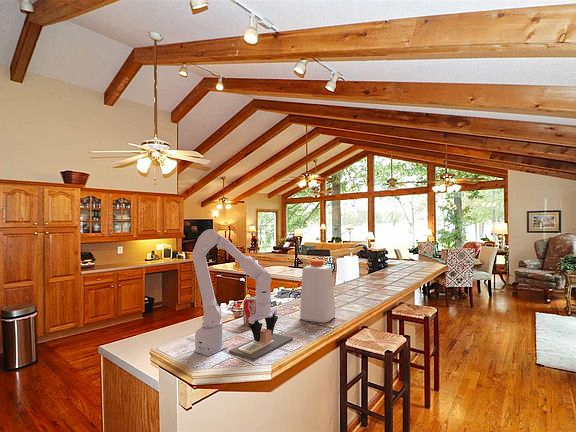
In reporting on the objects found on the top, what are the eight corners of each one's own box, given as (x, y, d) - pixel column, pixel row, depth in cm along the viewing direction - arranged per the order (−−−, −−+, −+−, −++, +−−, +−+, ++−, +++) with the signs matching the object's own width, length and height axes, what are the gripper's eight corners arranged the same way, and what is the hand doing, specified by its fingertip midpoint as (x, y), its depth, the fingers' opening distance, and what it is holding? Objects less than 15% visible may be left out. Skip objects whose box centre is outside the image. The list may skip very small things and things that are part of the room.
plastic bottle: (297, 320, 151) (296, 261, 152) (309, 312, 164) (309, 258, 165) (326, 324, 144) (325, 262, 145) (337, 316, 157) (336, 259, 158)
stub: (265, 346, 117) (265, 333, 117) (253, 342, 120) (253, 330, 120) (273, 342, 121) (273, 329, 121) (261, 338, 124) (261, 327, 125)
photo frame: (250, 353, 110) (250, 351, 110) (237, 350, 114) (237, 348, 114) (264, 346, 117) (264, 344, 117) (252, 343, 120) (252, 341, 120)
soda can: (244, 327, 142) (244, 300, 142) (242, 322, 148) (242, 296, 149) (260, 325, 144) (259, 299, 144) (257, 321, 150) (257, 295, 151)
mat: (254, 360, 106) (254, 358, 106) (228, 352, 113) (228, 350, 113) (292, 339, 125) (292, 337, 125) (269, 334, 132) (269, 332, 132)
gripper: (258, 307, 113) (259, 346, 112) (282, 299, 125) (283, 334, 124) (244, 304, 117) (244, 342, 117) (268, 297, 129) (269, 331, 128)
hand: (263, 337), depth 121 cm, fingers open, 7 cm apart
